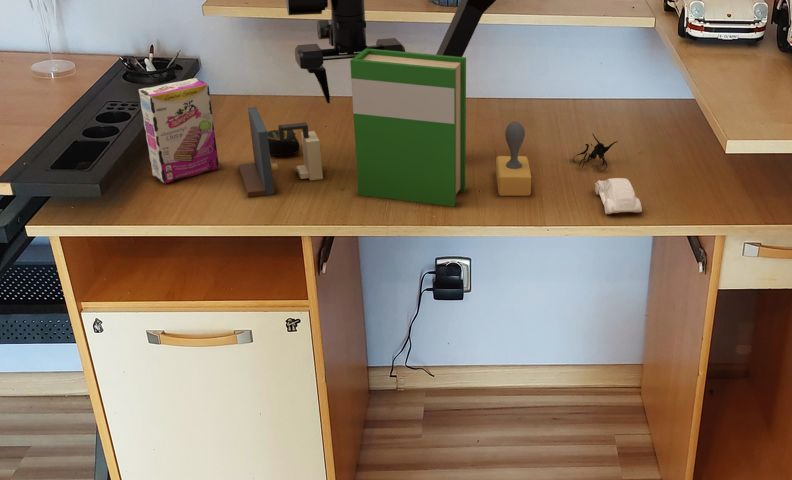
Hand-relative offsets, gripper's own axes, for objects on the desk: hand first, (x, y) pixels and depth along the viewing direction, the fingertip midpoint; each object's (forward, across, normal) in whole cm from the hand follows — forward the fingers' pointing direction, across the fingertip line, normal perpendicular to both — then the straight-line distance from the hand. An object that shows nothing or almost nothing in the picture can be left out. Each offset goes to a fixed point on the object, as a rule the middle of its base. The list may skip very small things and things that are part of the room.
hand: (353, 100), depth 164 cm
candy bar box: (+13, +30, -6) cm, 34 cm away
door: (+13, +17, +1) cm, 22 cm away
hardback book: (+13, -7, +14) cm, 21 cm away
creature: (+13, -43, +12) cm, 47 cm away
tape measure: (+13, +12, -12) cm, 21 cm away
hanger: (+13, +11, +1) cm, 17 cm away
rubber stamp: (+13, -25, +17) cm, 33 cm away
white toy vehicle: (+13, -40, +30) cm, 51 cm away
